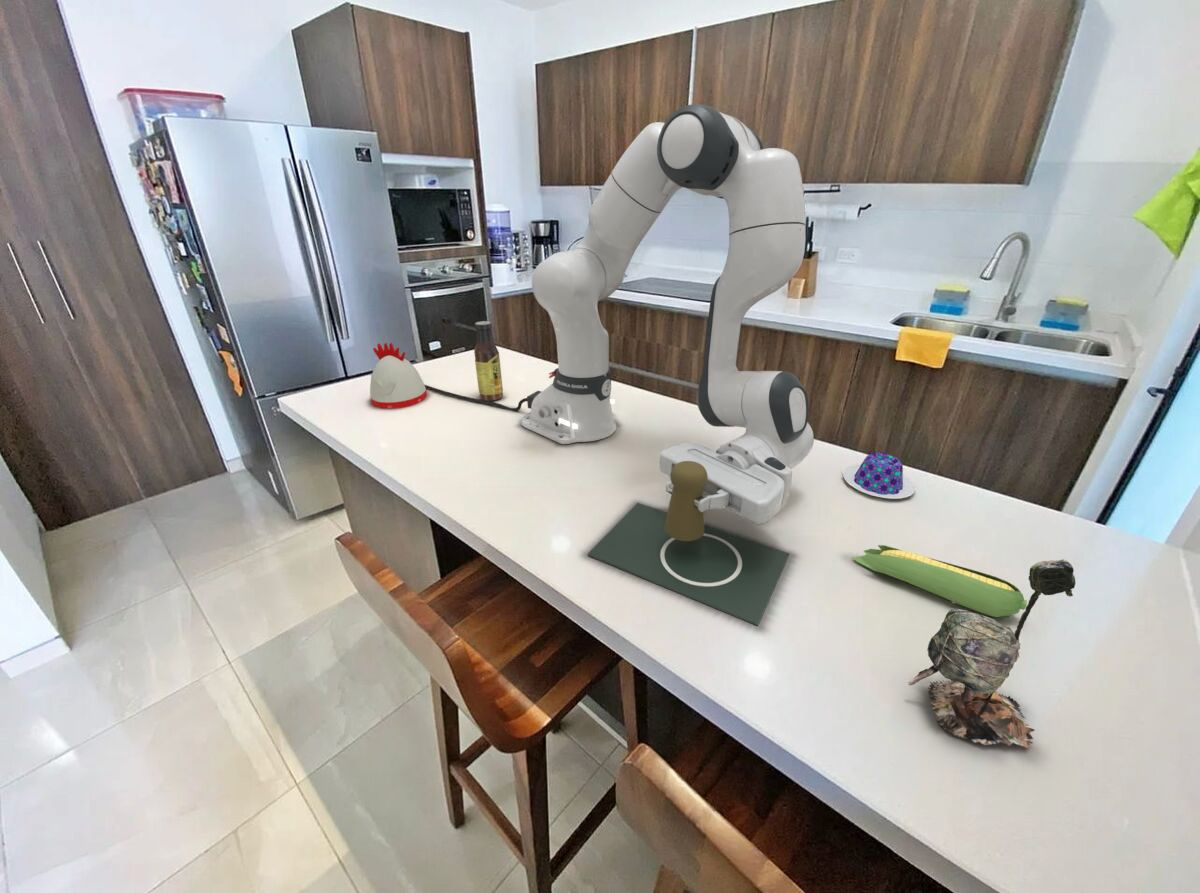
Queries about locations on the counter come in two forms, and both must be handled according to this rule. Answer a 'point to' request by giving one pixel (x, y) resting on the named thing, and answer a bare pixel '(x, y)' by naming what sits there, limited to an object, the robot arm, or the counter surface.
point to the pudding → (880, 477)
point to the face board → (695, 563)
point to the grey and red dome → (395, 380)
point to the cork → (686, 502)
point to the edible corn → (947, 581)
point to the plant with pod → (985, 666)
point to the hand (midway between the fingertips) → (683, 497)
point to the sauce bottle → (487, 363)
